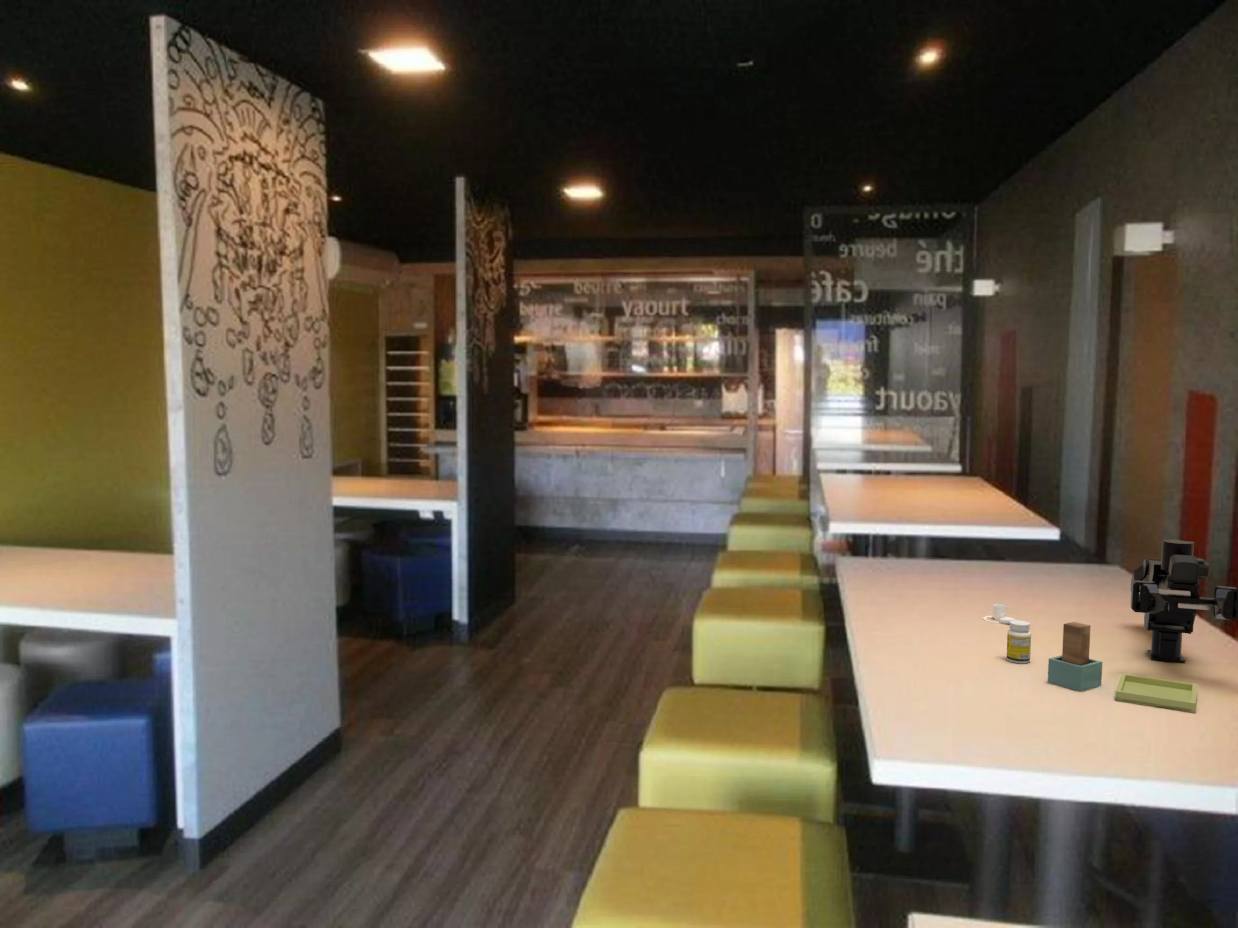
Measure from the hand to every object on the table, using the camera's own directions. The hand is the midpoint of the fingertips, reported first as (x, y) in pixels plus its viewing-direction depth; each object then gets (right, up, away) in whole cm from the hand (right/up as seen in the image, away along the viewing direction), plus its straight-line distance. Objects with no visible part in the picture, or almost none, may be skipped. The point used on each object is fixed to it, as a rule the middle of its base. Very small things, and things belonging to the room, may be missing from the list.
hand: (1192, 608), depth 186 cm
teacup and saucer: (-17, -12, +56) cm, 60 cm away
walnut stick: (-19, -16, +7) cm, 26 cm away
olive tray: (-7, -17, -1) cm, 18 cm away
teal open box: (-19, -16, +7) cm, 26 cm away
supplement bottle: (-24, -15, +23) cm, 36 cm away
